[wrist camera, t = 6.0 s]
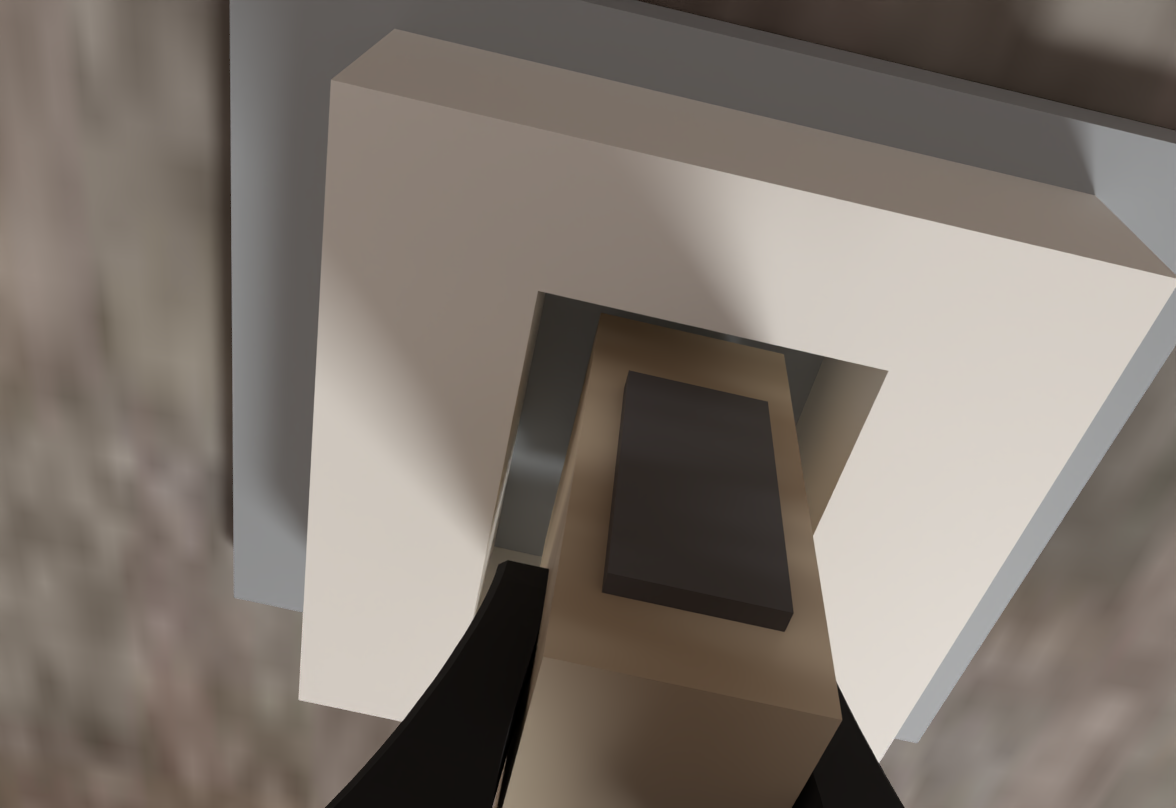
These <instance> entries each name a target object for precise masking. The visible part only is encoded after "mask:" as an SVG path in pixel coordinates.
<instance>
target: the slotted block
mask: <svg viewBox="0 0 1176 808" xmlns="http://www.w3.org/2000/svg"><path fill="white" fill-rule="evenodd" d="M230 114H231V256H232V397H233V539H234V598H238V599H243V600H247V601H252V602H257V603H262V604H266V605H271V606H276V607H280V608H285V609H290V610H294V611H299V612H303V626H302V645H301V664H300V683H299V700H302V701H306V702H311V703H316V704H321V705H325V706H330V707H335V708H340V709H344V710H349V711H354V712H359V713H364V714H368V715H373V716H378V717H383V718H387V719H392V720H397V721H403V720H404V718H405V717H406V716H407V714H408V713H409V712H410V711H411V709H412V708H413V707H414V705H415V704H416V703H417V701H418V700H419V699H420V697H421V696H422V695H423V693H424V692H425V691H426V689H427V688H428V687H429V685H430V684H431V683H432V682H433V680H434V679H435V677H436V676H437V675H438V673H439V672H440V670H441V669H442V667H443V666H444V664H445V663H446V661H447V660H448V658H449V657H450V655H451V654H452V652H453V651H454V649H455V647H456V646H457V644H458V643H459V641H460V640H461V638H462V637H463V635H464V634H465V632H466V630H467V629H468V627H469V625H470V624H471V622H472V620H473V618H474V617H475V615H476V613H477V611H478V610H479V608H480V606H481V604H482V602H483V600H484V598H485V596H486V594H487V592H488V590H489V588H490V585H491V583H492V581H493V578H494V576H495V573H496V570H497V567H498V564H500V563H502V562H505V561H507V560H510V561H515V562H519V563H524V564H529V565H533V566H538V567H540V565H541V560H542V554H543V549H544V544H545V539H546V535H547V531H548V527H549V523H550V518H551V514H552V510H553V506H554V502H555V498H556V494H557V490H558V486H559V482H560V478H561V473H562V469H563V465H564V461H565V457H566V453H567V449H568V445H569V441H570V437H571V433H572V428H573V424H574V420H575V416H576V412H577V408H578V404H579V400H580V396H581V392H582V388H583V384H584V379H585V375H586V371H587V367H588V363H589V359H590V355H591V351H592V347H593V343H594V339H595V334H596V330H597V326H598V322H599V318H600V314H601V313H605V314H609V315H614V316H618V317H623V318H627V319H631V320H636V321H640V322H645V323H649V324H653V325H658V326H662V327H667V328H671V329H675V330H680V331H684V332H689V333H693V334H697V335H702V336H706V337H711V338H715V339H719V340H724V341H728V342H733V343H737V344H741V345H746V346H750V347H755V348H759V349H763V350H768V351H772V352H776V353H781V354H784V358H785V364H786V370H787V377H788V383H789V389H790V395H791V402H792V408H793V414H794V420H795V427H796V433H797V439H798V445H799V452H800V458H801V464H802V470H803V477H804V483H805V489H806V495H807V502H808V508H809V514H810V520H811V527H812V533H813V539H814V545H815V552H816V558H817V564H818V570H819V577H820V583H821V589H822V596H823V602H824V608H825V614H826V621H827V627H828V633H829V639H830V646H831V652H832V658H833V664H834V671H835V677H836V682H837V684H838V686H839V688H840V690H841V692H842V694H843V696H844V698H845V700H846V702H847V704H848V706H849V708H850V710H851V712H852V714H853V716H854V718H855V720H856V721H857V723H858V725H859V727H860V729H861V731H862V733H863V735H864V737H865V738H866V740H867V742H868V744H869V746H870V748H871V749H872V751H873V753H874V755H875V757H876V759H877V760H878V762H880V761H881V759H882V757H883V756H884V754H885V753H886V751H887V749H888V748H889V746H890V745H891V743H892V741H893V740H894V738H895V739H899V740H904V741H909V742H914V743H918V741H919V740H920V738H921V737H922V735H923V734H924V732H925V731H926V729H927V727H928V726H929V724H930V723H931V721H932V720H933V718H934V717H935V715H936V714H937V712H938V710H939V709H940V707H941V706H942V704H943V703H944V701H945V700H946V698H947V697H948V695H949V694H950V692H951V690H952V689H953V687H954V686H955V684H956V683H957V681H958V680H959V678H960V677H961V675H962V674H963V672H964V670H965V669H966V667H967V666H968V664H969V663H970V661H971V660H972V658H973V657H974V655H975V653H976V652H977V650H978V649H979V647H980V646H981V644H982V643H983V641H984V640H985V638H986V637H987V635H988V633H989V632H990V630H991V629H992V627H993V626H994V624H995V623H996V621H997V620H998V618H999V616H1000V615H1001V613H1002V612H1003V610H1004V609H1005V607H1006V606H1007V604H1008V603H1009V601H1010V600H1011V598H1012V596H1013V595H1014V593H1015V592H1016V590H1017V589H1018V587H1019V586H1020V584H1021V583H1022V581H1023V580H1024V578H1025V576H1026V575H1027V573H1028V572H1029V570H1030V569H1031V567H1032V566H1033V564H1034V563H1035V561H1036V559H1037V558H1038V556H1039V555H1040V553H1041V552H1042V550H1043V549H1044V547H1045V546H1046V544H1047V543H1048V541H1049V539H1050V538H1051V536H1052V535H1053V533H1054V532H1055V530H1056V529H1057V527H1058V526H1059V524H1060V522H1061V521H1062V519H1063V518H1064V516H1065V515H1066V513H1067V512H1068V510H1069V509H1070V507H1071V506H1072V504H1073V502H1074V501H1075V499H1076V498H1077V496H1078V495H1079V493H1080V492H1081V490H1082V489H1083V487H1084V485H1085V484H1086V482H1087V481H1088V479H1089V478H1090V476H1091V475H1092V473H1093V472H1094V470H1095V469H1096V467H1097V465H1098V464H1099V462H1100V461H1101V459H1102V458H1103V456H1104V455H1105V453H1106V452H1107V450H1108V449H1109V447H1110V445H1111V444H1112V442H1113V441H1114V439H1115V438H1116V436H1117V435H1118V433H1119V432H1120V430H1121V428H1122V427H1123V425H1124V424H1125V422H1126V421H1127V419H1128V418H1129V416H1130V415H1131V413H1132V412H1133V410H1134V408H1135V407H1136V405H1137V404H1138V402H1139V401H1140V399H1141V398H1142V396H1143V395H1144V393H1145V391H1146V390H1147V388H1148V387H1149V385H1150V384H1151V382H1152V381H1153V379H1154V378H1155V376H1156V375H1157V373H1158V371H1159V370H1160V368H1161V367H1162V365H1163V364H1164V362H1165V361H1166V359H1167V358H1168V356H1169V355H1170V353H1171V351H1172V350H1173V348H1174V347H1175V345H1176V131H1175V130H1171V129H1167V128H1163V127H1158V126H1154V125H1150V124H1146V123H1142V122H1138V121H1134V120H1130V119H1125V118H1121V117H1117V116H1113V115H1109V114H1105V113H1101V112H1096V111H1092V110H1088V109H1084V108H1080V107H1076V106H1072V105H1067V104H1063V103H1059V102H1055V101H1051V100H1047V99H1043V98H1038V97H1034V96H1030V95H1026V94H1022V93H1018V92H1014V91H1009V90H1005V89H1001V88H997V87H993V86H989V85H985V84H980V83H976V82H972V81H968V80H964V79H960V78H956V77H951V76H947V75H943V74H939V73H935V72H931V71H927V70H922V69H918V68H914V67H910V66H906V65H902V64H898V63H893V62H889V61H885V60H881V59H877V58H873V57H869V56H865V55H860V54H856V53H852V52H848V51H844V50H840V49H836V48H831V47H827V46H823V45H819V44H815V43H811V42H807V41H802V40H798V39H794V38H790V37H786V36H782V35H778V34H773V33H769V32H765V31H761V30H757V29H753V28H749V27H744V26H740V25H736V24H732V23H728V22H724V21H720V20H715V19H711V18H707V17H703V16H699V15H695V14H691V13H686V12H682V11H678V10H674V9H670V8H666V7H662V6H657V5H653V4H649V3H645V2H641V1H637V0H230Z"/></svg>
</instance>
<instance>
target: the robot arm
mask: <svg viewBox="0 0 1176 808" xmlns="http://www.w3.org/2000/svg"><path fill="white" fill-rule="evenodd" d="M548 574H549V569H547V568H542V567H538V566H533V565H529V564H524V563H519V562H515V561H510V560H507V561H505V562H502V563H500V564H498V567H497V570H496V573H495V576H494V578H493V581H492V583H491V585H490V588H489V590H488V592H487V594H486V596H485V598H484V600H483V602H482V604H481V606H480V608H479V610H478V611H477V613H476V615H475V617H474V618H473V620H472V622H471V624H470V625H469V627H468V629H467V630H466V632H465V634H464V635H463V637H462V638H461V640H460V641H459V643H458V644H457V646H456V647H455V649H454V651H453V652H452V654H451V655H450V657H449V658H448V660H447V661H446V663H445V664H444V666H443V667H442V669H441V670H440V672H439V673H438V675H437V676H436V677H435V679H434V680H433V682H432V683H431V684H430V685H429V687H428V688H427V689H426V691H425V692H424V693H423V695H422V696H421V697H420V699H419V700H418V701H417V703H416V704H415V705H414V707H413V708H412V709H411V711H410V712H409V713H408V714H407V716H406V717H405V718H404V720H403V721H402V722H401V723H400V725H399V726H398V727H397V728H396V730H395V731H394V732H393V733H392V734H391V736H390V737H389V738H388V739H387V741H386V742H385V743H384V744H383V745H382V746H381V748H380V749H379V750H378V751H377V752H376V753H375V755H374V756H373V757H372V758H371V759H370V760H369V761H368V762H367V764H366V765H365V766H364V767H363V768H362V769H361V770H360V771H359V772H358V774H357V775H356V776H355V777H354V778H353V779H352V780H351V781H350V782H349V783H348V784H347V785H346V786H345V787H344V789H343V790H342V791H341V792H340V793H339V794H338V795H337V796H336V797H335V798H334V799H333V800H332V801H331V802H330V803H329V804H328V805H327V806H326V807H325V808H492V805H493V802H494V798H495V795H496V792H497V788H498V785H499V781H500V778H501V774H502V771H503V768H504V764H505V761H506V757H507V753H508V750H509V746H510V742H511V738H512V734H513V730H514V726H515V722H516V719H517V715H518V711H519V707H520V703H521V699H522V695H523V691H524V687H525V684H526V680H527V676H528V672H529V668H530V664H531V660H532V656H533V653H534V649H535V645H536V641H537V637H538V633H539V629H540V625H541V620H542V614H543V608H544V601H545V595H546V588H547V581H548ZM836 683H837V682H836ZM837 689H838V696H839V702H840V708H841V714H842V722H841V723H840V725H839V727H838V728H837V730H836V732H835V734H834V735H833V737H832V739H831V741H830V742H829V744H828V746H827V747H826V749H825V751H824V753H823V754H822V756H821V758H820V760H819V761H818V763H817V765H816V767H815V768H814V770H813V772H812V773H811V775H810V777H809V779H808V780H807V782H806V784H805V786H804V787H803V789H802V791H801V792H800V794H799V796H798V798H797V799H796V801H795V803H794V805H793V806H792V808H904V806H903V804H902V803H901V801H900V799H899V798H898V796H897V794H896V792H895V791H894V789H893V787H892V785H891V784H890V782H889V780H888V779H887V777H886V775H885V773H884V771H883V770H882V768H881V766H880V764H879V762H878V760H877V759H876V757H875V755H874V753H873V751H872V749H871V748H870V746H869V744H868V742H867V740H866V738H865V737H864V735H863V733H862V731H861V729H860V727H859V725H858V723H857V721H856V720H855V718H854V716H853V714H852V712H851V710H850V708H849V706H848V704H847V702H846V700H845V698H844V696H843V694H842V692H841V690H840V688H839V686H838V684H837Z"/></svg>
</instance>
